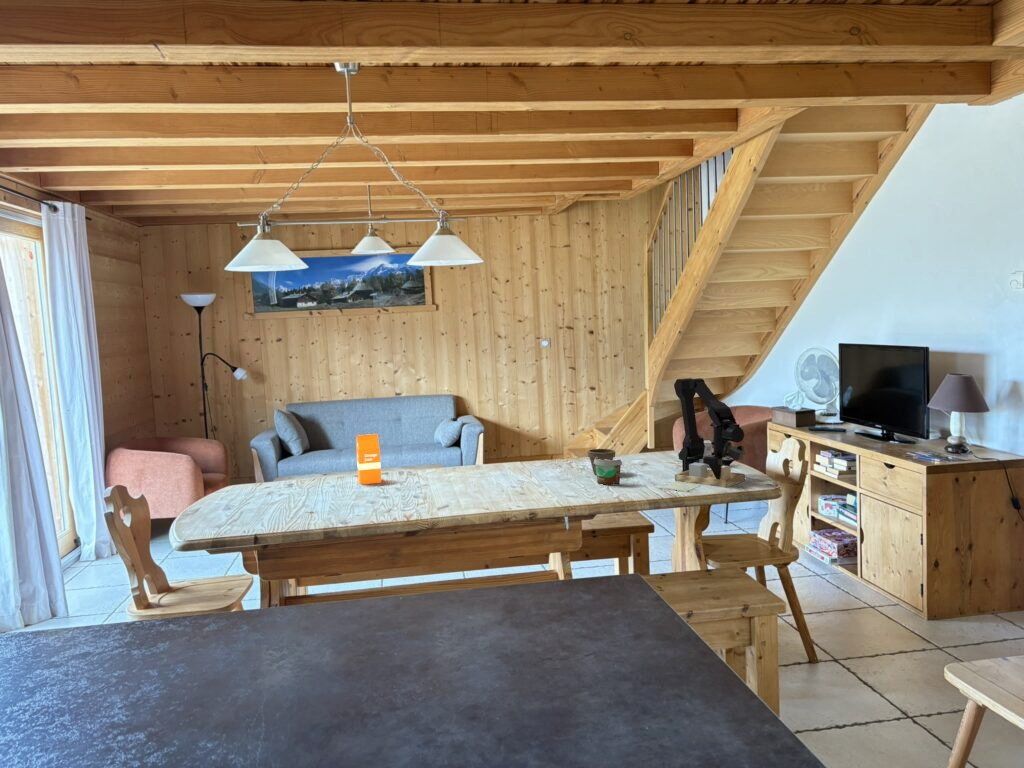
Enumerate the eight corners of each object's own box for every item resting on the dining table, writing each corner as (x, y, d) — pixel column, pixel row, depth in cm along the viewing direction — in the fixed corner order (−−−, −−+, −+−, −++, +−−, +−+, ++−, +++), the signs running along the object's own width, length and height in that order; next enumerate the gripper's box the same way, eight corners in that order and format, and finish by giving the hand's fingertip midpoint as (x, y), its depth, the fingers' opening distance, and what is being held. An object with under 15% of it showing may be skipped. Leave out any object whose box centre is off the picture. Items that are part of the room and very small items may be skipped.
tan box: (712, 482, 292) (712, 466, 292) (718, 480, 296) (718, 464, 296) (724, 483, 289) (724, 468, 289) (730, 481, 293) (730, 466, 292)
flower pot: (613, 471, 324) (612, 447, 323) (618, 476, 312) (617, 452, 312) (586, 472, 324) (585, 448, 323) (590, 477, 312) (589, 453, 311)
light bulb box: (710, 464, 332) (710, 439, 331) (712, 467, 325) (712, 442, 324) (685, 464, 333) (685, 440, 332) (687, 467, 326) (687, 442, 325)
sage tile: (661, 488, 287) (661, 487, 287) (675, 483, 295) (675, 481, 295) (687, 492, 280) (687, 490, 280) (701, 486, 288) (701, 485, 288)
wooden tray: (675, 482, 297) (674, 474, 297) (694, 475, 309) (694, 468, 309) (726, 488, 283) (726, 480, 283) (744, 481, 295) (744, 473, 294)
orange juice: (381, 482, 318) (379, 435, 316) (360, 484, 315) (357, 436, 313) (378, 478, 325) (376, 432, 323) (358, 480, 322) (355, 434, 321)
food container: (587, 483, 301) (587, 458, 300) (597, 480, 305) (596, 456, 305) (613, 487, 292) (612, 461, 292) (622, 484, 297) (622, 459, 296)
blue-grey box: (689, 479, 299) (689, 464, 299) (695, 477, 303) (695, 462, 302) (700, 481, 296) (700, 465, 295) (706, 478, 300) (706, 463, 299)
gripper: (729, 444, 279) (730, 486, 280) (751, 437, 293) (752, 477, 294) (702, 441, 286) (702, 482, 288) (724, 435, 300) (725, 474, 302)
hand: (721, 479), depth 293 cm, fingers closed on tan box, 5 cm apart
